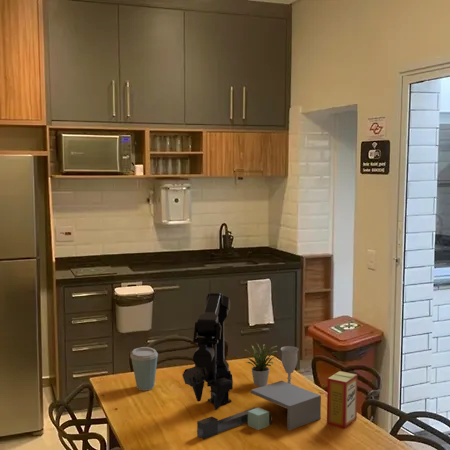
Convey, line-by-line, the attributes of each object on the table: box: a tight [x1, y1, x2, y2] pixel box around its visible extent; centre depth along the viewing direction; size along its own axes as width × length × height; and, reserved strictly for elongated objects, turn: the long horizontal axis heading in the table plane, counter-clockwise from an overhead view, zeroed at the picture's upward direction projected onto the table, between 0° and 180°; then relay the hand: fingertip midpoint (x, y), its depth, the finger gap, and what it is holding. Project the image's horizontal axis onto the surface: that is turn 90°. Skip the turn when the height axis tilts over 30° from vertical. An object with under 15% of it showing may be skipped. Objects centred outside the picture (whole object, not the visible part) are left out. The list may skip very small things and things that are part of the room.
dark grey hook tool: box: [196, 407, 273, 440], centre depth 202 cm, size 9×25×5 cm, turn 132°
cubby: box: [250, 380, 322, 431], centre depth 213 cm, size 19×15×8 cm
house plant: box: [243, 343, 278, 387], centre depth 244 cm, size 14×14×16 cm
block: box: [247, 406, 270, 431], centre depth 205 cm, size 5×5×5 cm
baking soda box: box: [326, 370, 359, 429], centre depth 208 cm, size 10×6×16 cm
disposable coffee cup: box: [130, 346, 159, 392], centre depth 240 cm, size 11×11×15 cm
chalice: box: [280, 345, 299, 384], centre depth 232 cm, size 7×7×18 cm
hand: (207, 405), depth 197 cm, fingers open, 9 cm apart
